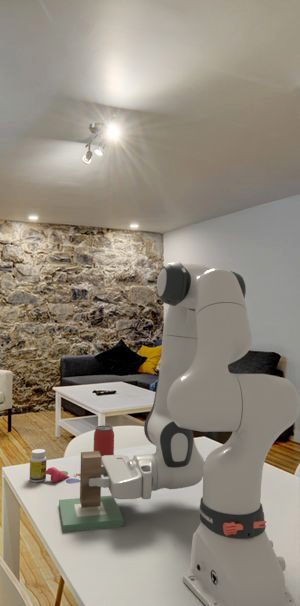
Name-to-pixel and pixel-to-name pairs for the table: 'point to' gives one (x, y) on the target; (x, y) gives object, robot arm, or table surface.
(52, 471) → the toy pieces
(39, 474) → the supplement bottle
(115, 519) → the plate
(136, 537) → the table surface
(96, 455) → the walnut block
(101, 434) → the beer can
